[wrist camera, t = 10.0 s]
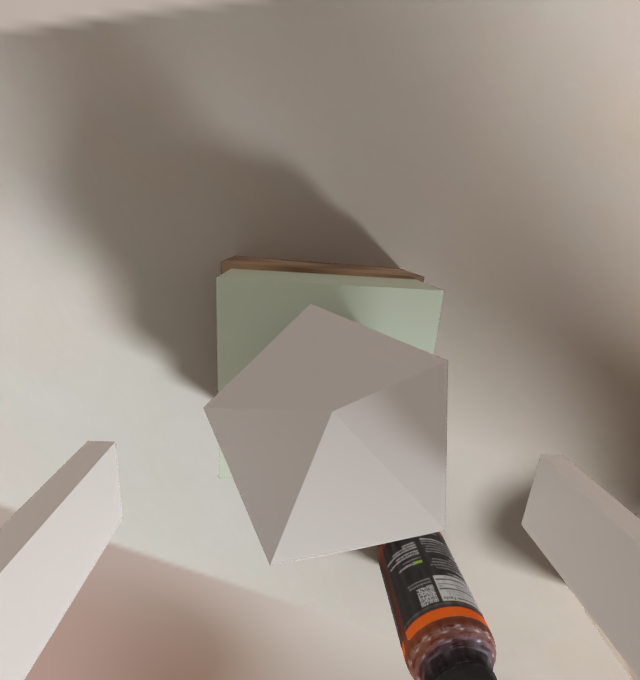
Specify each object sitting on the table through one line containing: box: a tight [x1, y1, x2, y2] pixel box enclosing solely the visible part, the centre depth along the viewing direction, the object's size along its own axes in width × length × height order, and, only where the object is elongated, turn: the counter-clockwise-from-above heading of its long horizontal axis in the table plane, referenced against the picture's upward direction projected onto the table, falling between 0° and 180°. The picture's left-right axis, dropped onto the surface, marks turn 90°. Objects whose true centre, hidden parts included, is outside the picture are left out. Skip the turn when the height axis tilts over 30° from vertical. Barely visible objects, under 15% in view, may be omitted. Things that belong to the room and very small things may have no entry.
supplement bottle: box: [378, 532, 497, 680], centre depth 26 cm, size 6×6×11 cm
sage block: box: [216, 268, 444, 478], centre depth 19 cm, size 10×10×4 cm
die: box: [204, 304, 448, 565], centre depth 13 cm, size 8×9×10 cm
